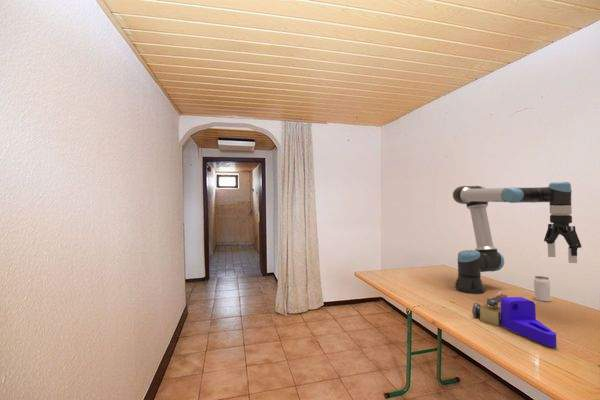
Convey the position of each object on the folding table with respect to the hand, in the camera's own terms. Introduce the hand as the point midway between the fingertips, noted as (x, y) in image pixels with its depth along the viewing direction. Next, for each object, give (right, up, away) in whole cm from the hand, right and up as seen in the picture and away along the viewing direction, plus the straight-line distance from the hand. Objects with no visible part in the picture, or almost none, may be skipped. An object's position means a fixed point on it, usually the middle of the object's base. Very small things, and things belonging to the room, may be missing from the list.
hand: (561, 259), depth 127 cm
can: (+8, -26, +19) cm, 33 cm away
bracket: (-32, -25, -21) cm, 46 cm away
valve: (-38, -26, -7) cm, 46 cm away
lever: (-33, -18, -4) cm, 38 cm away
